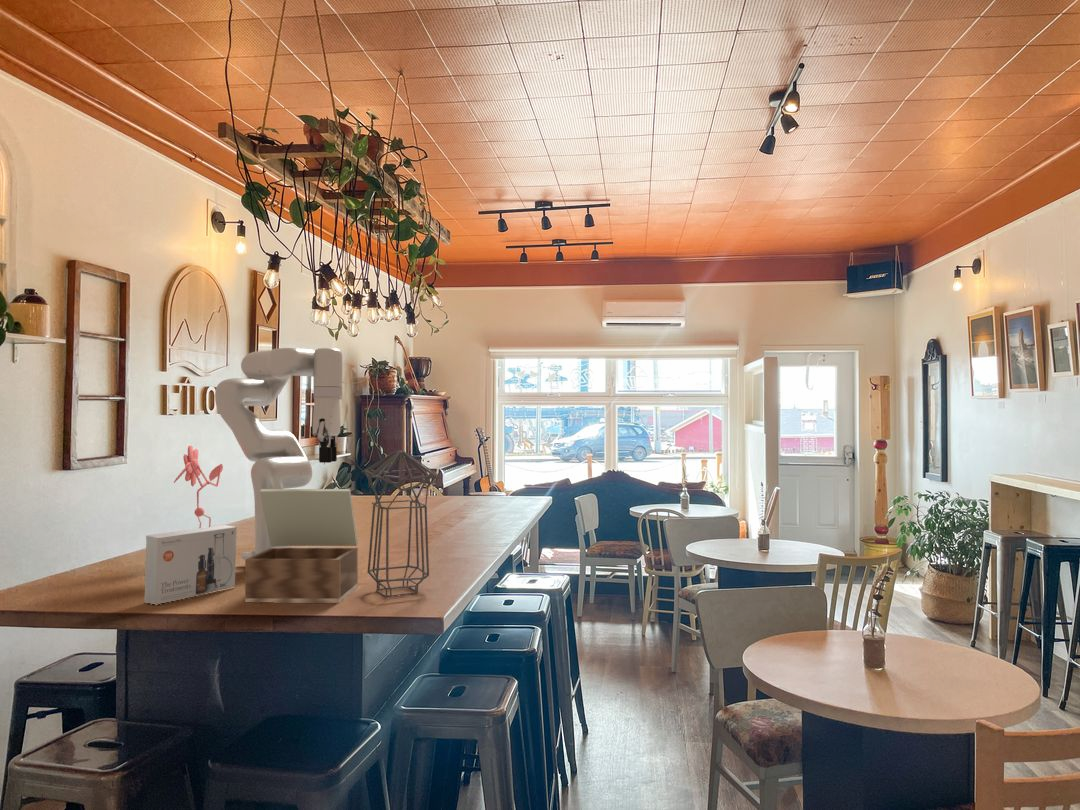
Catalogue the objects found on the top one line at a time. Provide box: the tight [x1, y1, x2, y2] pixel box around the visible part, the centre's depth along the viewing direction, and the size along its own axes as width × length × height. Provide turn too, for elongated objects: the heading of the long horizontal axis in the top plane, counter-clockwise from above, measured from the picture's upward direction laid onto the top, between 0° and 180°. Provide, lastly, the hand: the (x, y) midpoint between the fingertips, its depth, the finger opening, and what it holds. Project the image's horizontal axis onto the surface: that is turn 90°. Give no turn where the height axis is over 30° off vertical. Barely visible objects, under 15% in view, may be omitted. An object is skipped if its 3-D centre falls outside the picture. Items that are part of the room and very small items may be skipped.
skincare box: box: [143, 524, 238, 605], centre depth 180 cm, size 21×5×16 cm, turn 148°
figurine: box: [173, 444, 224, 529], centre depth 224 cm, size 15×26×35 cm, turn 5°
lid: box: [260, 488, 358, 547], centre depth 185 cm, size 22×16×1 cm
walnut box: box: [244, 547, 359, 604], centre depth 181 cm, size 22×16×10 cm
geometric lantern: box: [361, 450, 439, 598], centre depth 182 cm, size 16×16×35 cm
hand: (328, 461), depth 200 cm, fingers open, 3 cm apart
